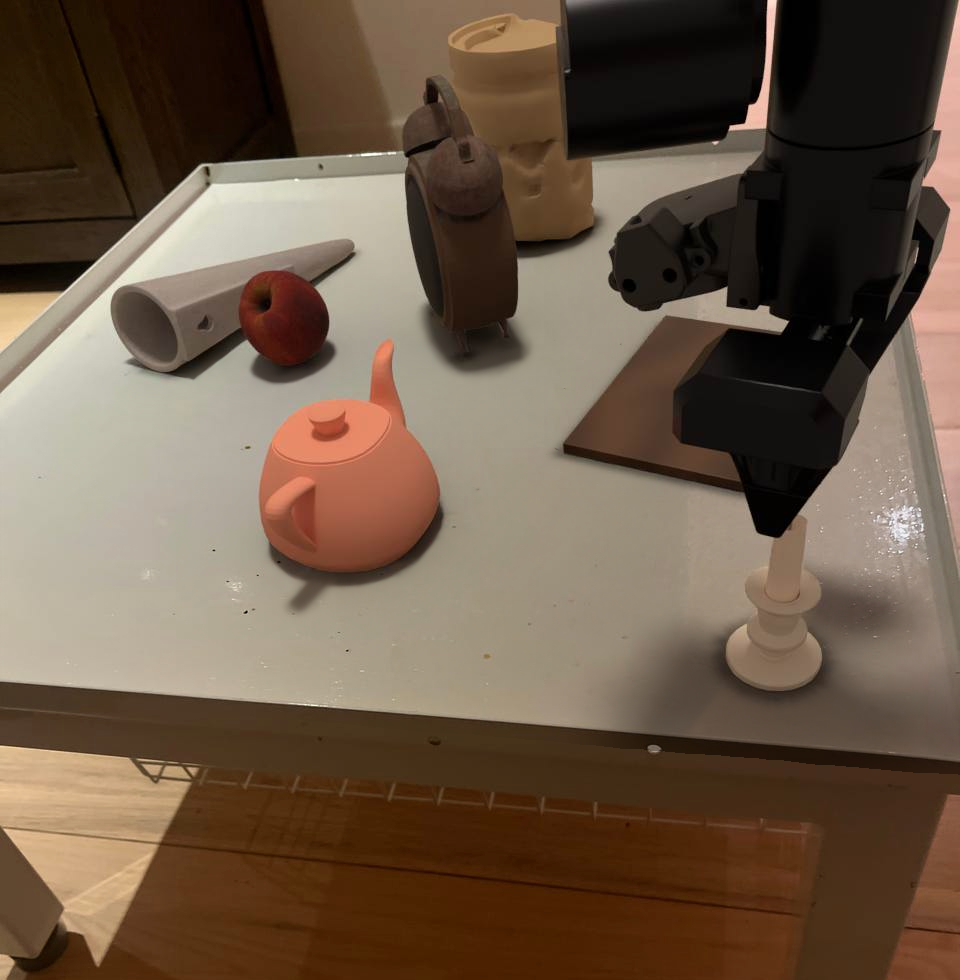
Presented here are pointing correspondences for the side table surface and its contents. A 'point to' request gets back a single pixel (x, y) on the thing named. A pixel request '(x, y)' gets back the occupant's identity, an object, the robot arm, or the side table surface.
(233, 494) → the side table surface
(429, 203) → the alarm clock
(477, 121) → the container
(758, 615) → the candle
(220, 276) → the planter
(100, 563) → the side table surface
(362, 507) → the teapot
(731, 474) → the walnut board
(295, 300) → the apple
